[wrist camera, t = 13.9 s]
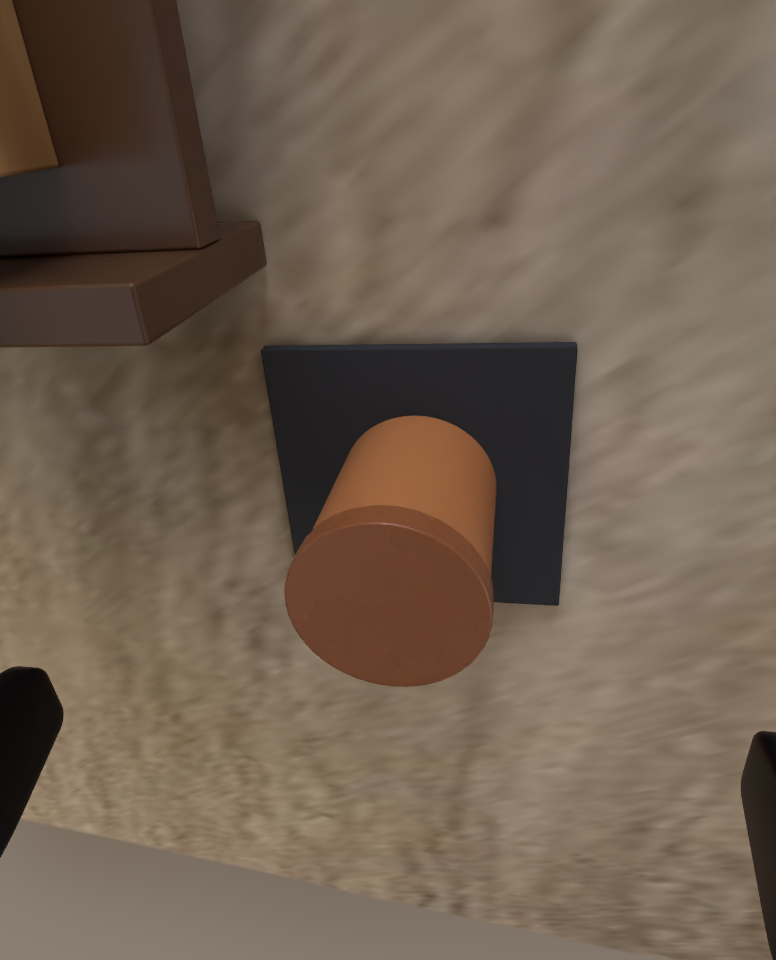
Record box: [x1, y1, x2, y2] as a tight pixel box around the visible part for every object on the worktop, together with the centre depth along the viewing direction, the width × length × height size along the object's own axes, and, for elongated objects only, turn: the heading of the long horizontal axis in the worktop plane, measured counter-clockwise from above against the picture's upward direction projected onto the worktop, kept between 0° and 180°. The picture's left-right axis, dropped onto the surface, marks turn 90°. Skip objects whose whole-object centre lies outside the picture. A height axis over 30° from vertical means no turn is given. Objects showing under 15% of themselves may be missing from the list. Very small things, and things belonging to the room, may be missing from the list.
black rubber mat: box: [261, 342, 577, 606], centre depth 21 cm, size 9×9×1 cm
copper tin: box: [285, 416, 497, 687], centre depth 18 cm, size 5×5×6 cm
